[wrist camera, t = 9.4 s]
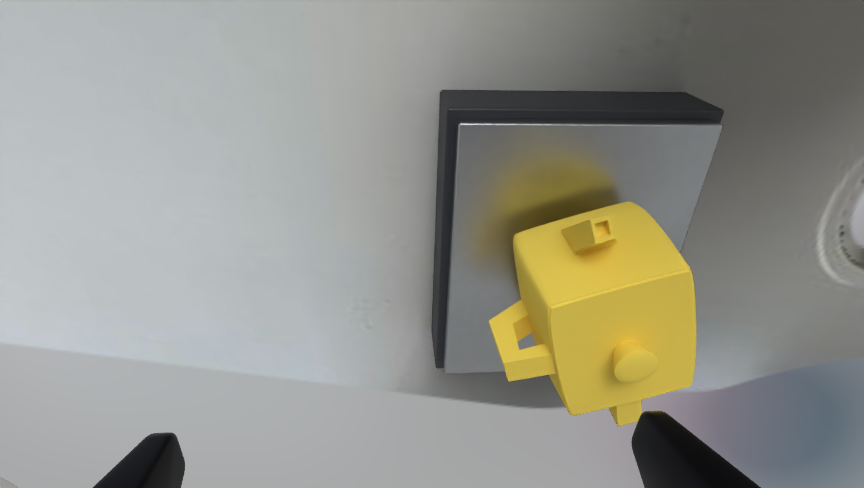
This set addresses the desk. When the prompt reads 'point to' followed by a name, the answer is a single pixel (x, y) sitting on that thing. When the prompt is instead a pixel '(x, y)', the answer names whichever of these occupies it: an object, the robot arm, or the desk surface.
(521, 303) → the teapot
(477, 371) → the scale
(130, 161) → the desk surface
